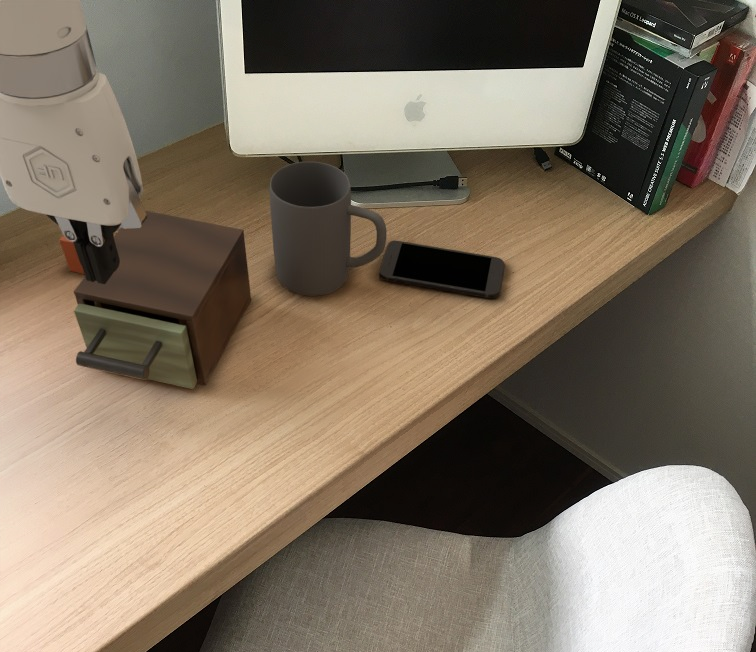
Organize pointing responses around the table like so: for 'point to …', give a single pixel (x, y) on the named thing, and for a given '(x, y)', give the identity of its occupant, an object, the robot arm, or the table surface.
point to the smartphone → (442, 269)
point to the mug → (316, 228)
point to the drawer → (136, 344)
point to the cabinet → (181, 280)
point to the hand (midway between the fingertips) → (103, 272)
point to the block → (71, 255)
